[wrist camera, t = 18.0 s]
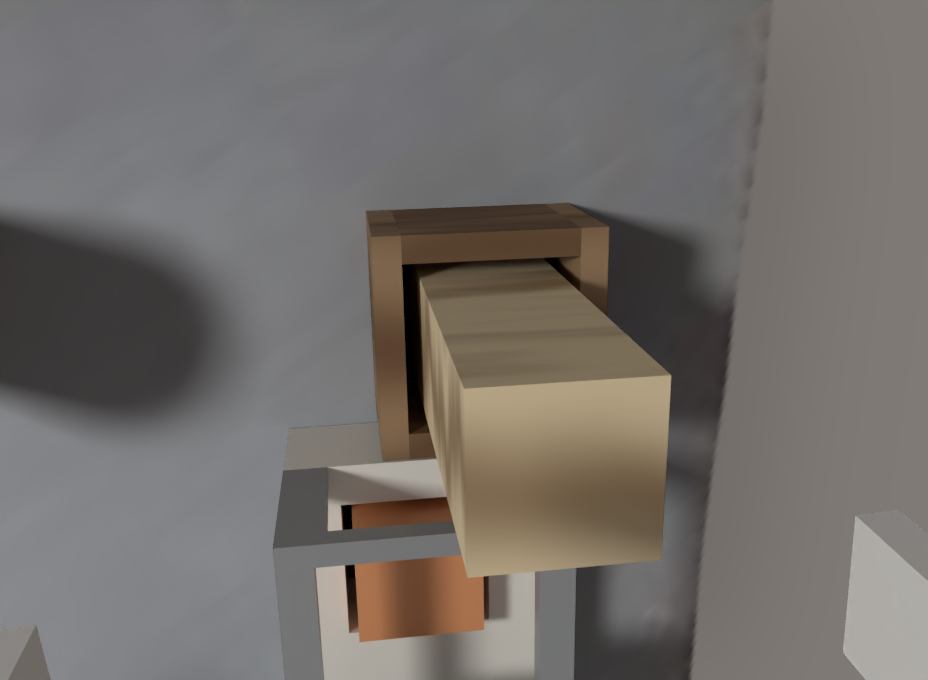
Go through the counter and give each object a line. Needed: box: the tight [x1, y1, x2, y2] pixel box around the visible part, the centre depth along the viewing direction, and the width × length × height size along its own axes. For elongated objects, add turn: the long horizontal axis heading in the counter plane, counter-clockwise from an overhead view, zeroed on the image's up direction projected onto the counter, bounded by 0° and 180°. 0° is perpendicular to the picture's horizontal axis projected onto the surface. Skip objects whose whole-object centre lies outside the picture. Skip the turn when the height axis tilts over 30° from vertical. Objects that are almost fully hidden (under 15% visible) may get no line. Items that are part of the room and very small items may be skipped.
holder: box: [366, 203, 609, 461], centre depth 41 cm, size 10×10×7 cm
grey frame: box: [273, 423, 576, 680], centre depth 43 cm, size 20×12×12 cm, turn 1°
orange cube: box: [352, 497, 484, 642], centre depth 45 cm, size 6×6×6 cm
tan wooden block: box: [409, 258, 671, 578], centre depth 35 cm, size 6×6×20 cm
